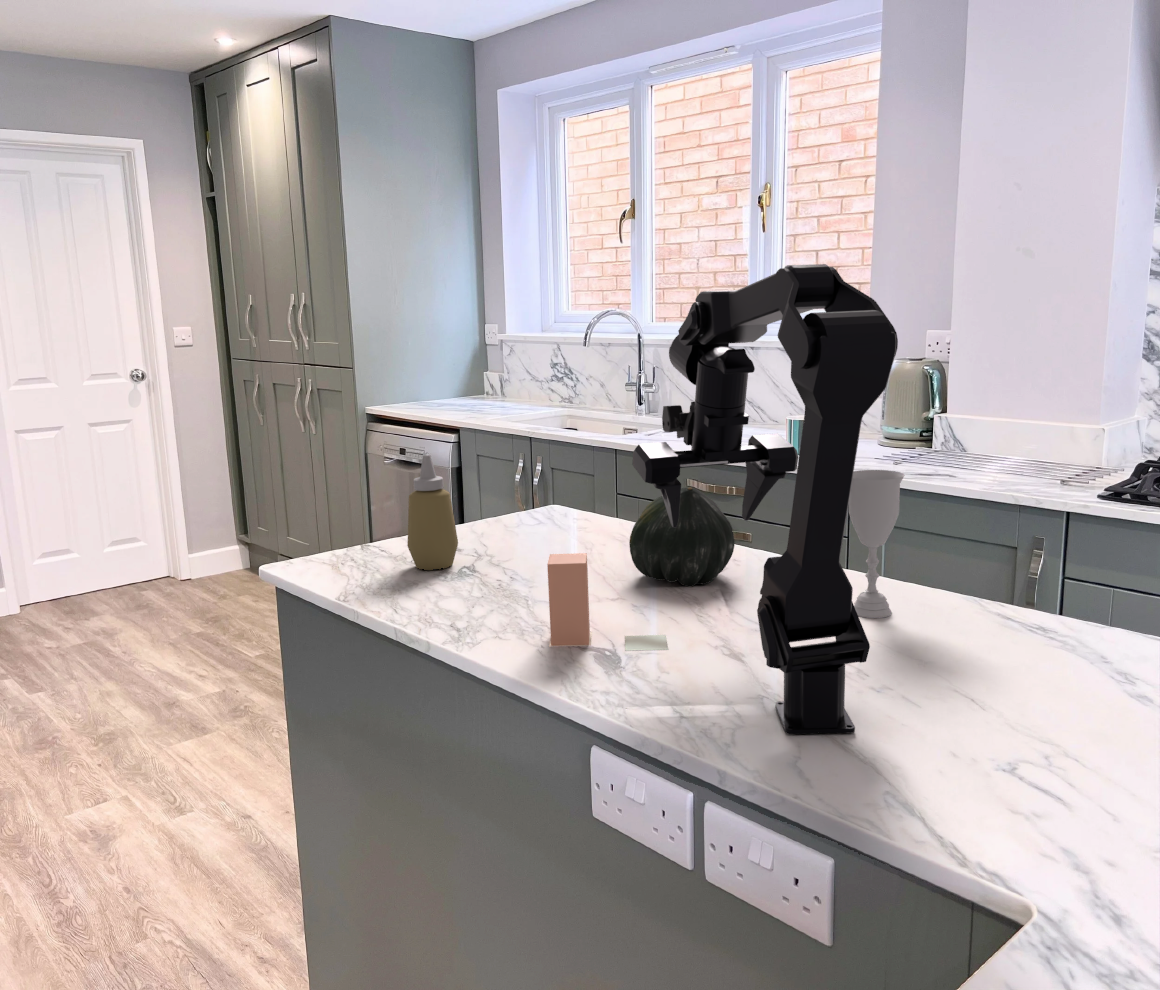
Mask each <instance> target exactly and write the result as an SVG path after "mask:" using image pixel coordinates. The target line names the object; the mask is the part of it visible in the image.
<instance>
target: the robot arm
mask: <svg viewBox="0 0 1160 990" xmlns="http://www.w3.org/2000/svg"><path fill="white" fill-rule="evenodd" d="M818 309H819V310H822V309H823V310H824V311H823V312H810V311H813V310H818ZM806 312H809V313H808V314H806V315H805V316H804V317H802V315H801V314H804V313H806ZM779 321H781V322H780V324H779V328H778V332H777V338H778V341H779V342H780V344H781V345H782V348H783V349H784V351H785V353H786V355H787V357H788V358H789V359H790V378H791V380H792V383H793V385H794V387H795V389H796V391H797V393H798V395H799V396H800V399H801V401H802V403H803V404H804V416H803V423H802V430H801V431H802V432H801V439H800V446H799V453H798V450H797V448H796V447H795V446H794V445H793V444H791V443H790V442H789V441H788V440H787V439H785V438H784V437H783V436H782V435H781V434H780V433H778V432H776V433H767V434H765V433H764V434H754V435H751V436H750V437H749V439H748V444H747V445H742V442H743V441H742V440H743V430H744V425H745V426H746V425H749V419H750V418H749V417H750V416H749V414H747V413H746V412H745V411H746V401H747V389H748V381H749V380H748V379H749V373H750V374H751V373H752V374H753V373H754V372H755V369H756V368H755V366H754V362H753V360H752V359H750V357H749V356H748V354H747V351H746V349H745V348H734V347H731V346H729V345H730V344H743V343H746V344H747V343H754V342H756V341H757V340H759V339H760V338H762V337H763V336H764V335H766V333H767V332H768V325H770V324H773V323H776V322H779ZM677 332H678V335H676V336H675V337H674V339H673V340H672V342H671V344H670V346H669V348H668V357H669V361H670V363H671V365H672V366H673V368H674V369H676V370H677V372H679V373H680V374H681V375H682V376H684V378H686V379H687V380H688V381H689V382H690V383H691V384H692V385H694V386H695V395H694V397H695V398H694V401H691V402H690V406H689V411H683V408H682V406H681V405H680V404H678V405H676V404H674V405H664V406H663V407H662V415H661V421H662V422H661V423H662V430H663V431H664V433H665V432H666V433H673V432H675V433H676V438H677V439H681V438H683V444H685V445H686V446H690V447H691V450H681V451H680V450H679V451H674V450H673V448H672V447H671V446H670V444H668V443H667V442H666V441H664V442H651V443H650V442H649V443H648V442H647V443H639V444H638V445H637V446H636V447H635V449H634V450H633V452H632V464H631V465H632V466H633V468H634V469H635V471H636V472H637V474H638V475H639V476H640V477H641V478H642V481H644V482H645V483H647V484H652V485H653V487H654V488H655V489H657V490H659V491H660V494H661V496H663V499H664V503H665V506H666V509H667V513H668V516H669V519H670V523H671V525H672V526H673V528H676V527H677V524H678V520H679V509H680V496H681V488H682V483H681V482H680V481H679V479H678V477H679V476H680V475H681V469H682V468H694V467H706V466H707V467H708V466H719V465H731V464H740V463H741V464H743V463H745V468H746V479H745V485H744V493H743V500H742V505H741V506H742V509H741V511H742V512H741V515H742V516H741V517H742V519H743V520H744V521H749V520H750V519H751V517H752V516H753V514H754V512H755V511H756V510H757V508H758V506H760V503H761V502H762V501H763V499H764V498H765V496H766V495H768V493H769V492H770V490H771V489H772V488H773V487H774V486H775V485H776V484H777V482H778V481H779V480H780V479H785V478H786V476H787V473H788V472H789V473H790V472H791V473H792V472H796V476H795V486H794V493H793V499H792V508H791V517H790V523H789V531H788V540H787V546H786V549H785V551H784V552H783V554H781V555H780V556H771V557H770V556H769V557H768V558H767V559H766V561H765V563H764V565H763V576H762V577H763V579H762V584H761V587H760V591H759V594H760V596H761V597H760V598H759V601H758V605H757V606H758V607H757V609H756V612H757V618H758V619H757V621H758V626H759V635H760V640H761V641H760V643H761V647H762V651H763V655H764V658H765V659H766V664H765V665H766V666H767V667H768V668H773V669H779V670H781V672H783V700H782V701H776V702H774V703H775V705H774V708H775V710H776V713H777V715H778V717H779V720H780V724H781V725H782V727H783V729H784V732H785V733H786V734H788V735H789V734H790V735H794V734H795V735H799V734H803V735H804V734H805V735H807V734H808V735H809V734H810V735H811V734H845V733H846V734H847V733H849V734H851V733H854V732H855V731H856V726H855V724H854V722H853V720H852V719H851V717H850V715H849V713H848V712H847V710H846V708H845V696H846V695H845V694H846V693H845V692H846V691H845V690H846V688H845V687H846V665H847V664H855V663H860V664H861V663H866V662H867V659H868V656H869V651H870V647H871V645H870V642H869V639H868V637H867V634H866V632H865V629H864V627H863V624H862V623H861V620H860V616H858V615H857V612H856V610H855V607H854V603H853V593H854V592H853V591H854V590H853V589H854V588H853V585H852V583H851V582H850V580H849V578H848V576H847V574H846V572H845V570H844V568H843V566H842V565H841V553H842V548H843V547H842V546H843V541H844V535H845V529H846V521H847V515H848V511H849V498H850V491H851V485H852V478H853V472H854V471H855V465H856V459H857V451H858V445H859V439H860V432H861V427H862V426H861V425H862V422H863V421H862V420H863V417H864V415H865V414H866V413H867V412H868V411H869V409H870V408H871V407H872V405H874V403H875V402H876V401H877V400H878V399H879V397H880V396H881V395H882V394H883V392H884V391H885V390H886V388H887V385H888V382H889V378H890V375H891V372H892V368H893V364H894V360H895V357H896V355H897V351H898V343H899V341H898V334H897V331H896V328H895V327H894V325H893V324H892V323H891V320H889V318H888V317H887V315H886V314H885V312H884V311H883V309H882V308H881V307H880V305H879V304H878V302H877V301H876V300H875V299H874V298H872V297H871V296H869V295H867V294H866V293H864V292H862V291H861V290H859V289H858V288H856V287H854V286H853V285H851V284H849V283H847V281H844V279H843V278H842V276H841V275H840V273H839V272H838V271H837V269H836V268H835V267H834V266H829V265H828V264H826V263H825V264H824V263H822V264H821V263H820V264H819V263H817V264H789V265H785V266H784V267H783V268H782V267H781V268H779V269H778V270H777V271H776V273H773V274H771V275H769V276H767V277H764V278H762V279H759V280H758V281H755V282H752V283H751V284H748V285H746V286H744V287H741V288H740V289H738V290H736V289H735V290H711V291H710V290H709V291H705V290H704V291H700V292H699V293H698V294H697V296H696V298H695V301H694V302H693V303H692V304H691V307H690V308H689V311H688V313H687V316H686V317H685V319H684V321H683V323H682V324H681V326H680V328H679V329H678V331H677ZM833 637H834V638H835V640H834V641H828V642H820V643H813V644H812V643H811V644H803V645H797V646H796V645H795V646H791V644H790V643H795V642H804V641H811V640H819V639H826V638H827V639H828V638H833Z"/></svg>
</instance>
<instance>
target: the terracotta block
mask: <svg viewBox="0 0 1160 990" xmlns="http://www.w3.org/2000/svg"><path fill="white" fill-rule="evenodd" d="M546 565H547V583H548V584H547V586H548V606H549V607H548V608H549V626H550V627H549V628H550V638H551V646H552V645H589V637H590V631H591V629H590V627H591V626H590V622H591V621H590V602H589V578H588V577H589V575H588V574H589V573H588V553H586V552H583V553H581V552H579V553H575V552H574V553H550V554H549V556H548V560H547V564H546Z"/></svg>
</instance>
